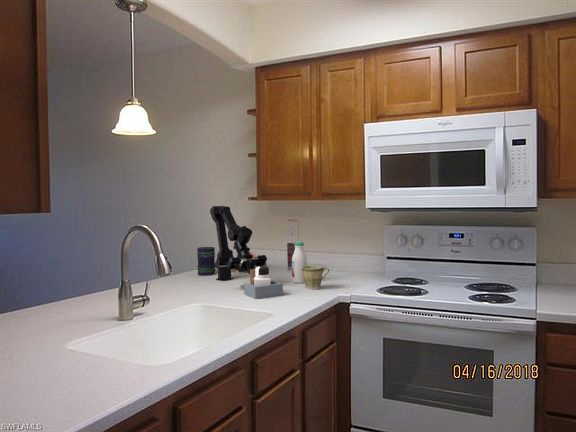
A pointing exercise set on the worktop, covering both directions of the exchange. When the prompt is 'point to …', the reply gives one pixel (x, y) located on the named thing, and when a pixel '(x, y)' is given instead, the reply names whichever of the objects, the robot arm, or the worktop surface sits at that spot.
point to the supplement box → (290, 254)
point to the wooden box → (244, 272)
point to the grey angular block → (263, 290)
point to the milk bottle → (298, 263)
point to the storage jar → (206, 261)
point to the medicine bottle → (262, 276)
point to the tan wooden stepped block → (252, 276)
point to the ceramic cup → (313, 276)
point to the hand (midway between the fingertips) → (253, 276)
